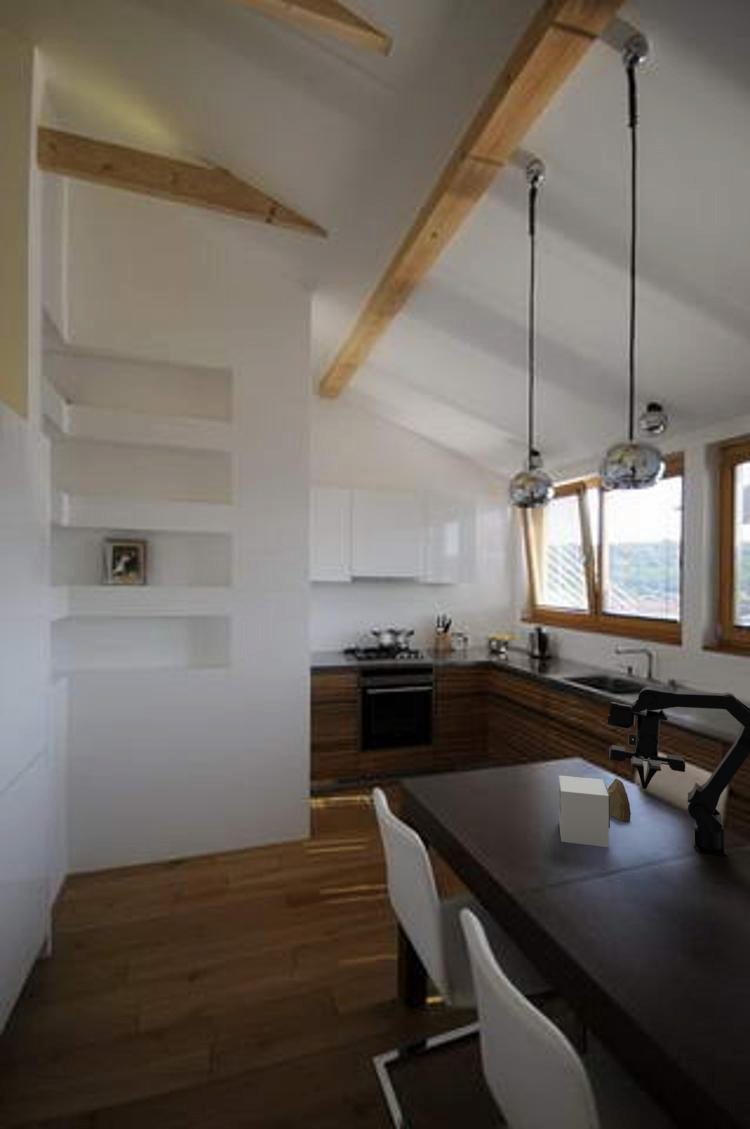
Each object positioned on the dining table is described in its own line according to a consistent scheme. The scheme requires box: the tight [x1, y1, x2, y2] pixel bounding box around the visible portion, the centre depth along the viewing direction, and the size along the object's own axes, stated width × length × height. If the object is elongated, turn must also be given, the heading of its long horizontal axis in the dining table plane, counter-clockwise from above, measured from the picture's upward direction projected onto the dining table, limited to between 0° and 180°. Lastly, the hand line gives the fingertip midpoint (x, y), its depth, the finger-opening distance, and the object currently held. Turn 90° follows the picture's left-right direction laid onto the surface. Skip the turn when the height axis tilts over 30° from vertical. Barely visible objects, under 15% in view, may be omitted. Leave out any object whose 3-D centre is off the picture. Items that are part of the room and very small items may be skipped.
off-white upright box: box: [558, 775, 611, 848], centre depth 159 cm, size 13×13×14 cm
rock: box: [607, 778, 632, 822], centre depth 172 cm, size 11×9×10 cm
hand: (644, 788), depth 159 cm, fingers closed
